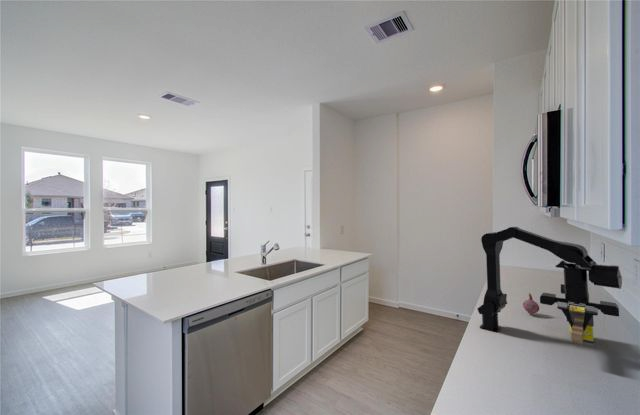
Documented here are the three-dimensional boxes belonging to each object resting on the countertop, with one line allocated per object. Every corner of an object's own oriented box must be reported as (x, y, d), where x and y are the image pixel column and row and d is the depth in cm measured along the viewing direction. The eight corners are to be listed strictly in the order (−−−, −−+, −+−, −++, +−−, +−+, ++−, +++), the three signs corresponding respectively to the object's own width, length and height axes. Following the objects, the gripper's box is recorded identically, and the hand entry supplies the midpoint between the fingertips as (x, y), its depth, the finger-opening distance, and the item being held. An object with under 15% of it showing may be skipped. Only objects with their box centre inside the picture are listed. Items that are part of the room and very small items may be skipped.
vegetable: (536, 312, 126) (535, 291, 127) (542, 317, 121) (541, 295, 121) (521, 311, 128) (519, 290, 129) (526, 316, 122) (525, 294, 123)
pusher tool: (593, 347, 81) (592, 333, 81) (562, 339, 86) (561, 327, 86) (593, 325, 96) (593, 314, 96) (567, 320, 101) (566, 309, 101)
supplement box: (569, 333, 105) (568, 305, 105) (591, 337, 101) (589, 308, 101) (571, 339, 100) (569, 309, 100) (594, 344, 96) (592, 313, 96)
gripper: (615, 282, 89) (618, 329, 88) (543, 274, 102) (545, 315, 102) (617, 289, 81) (620, 341, 81) (538, 279, 95) (541, 324, 94)
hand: (578, 329), depth 90 cm, fingers closed on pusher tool, 2 cm apart
